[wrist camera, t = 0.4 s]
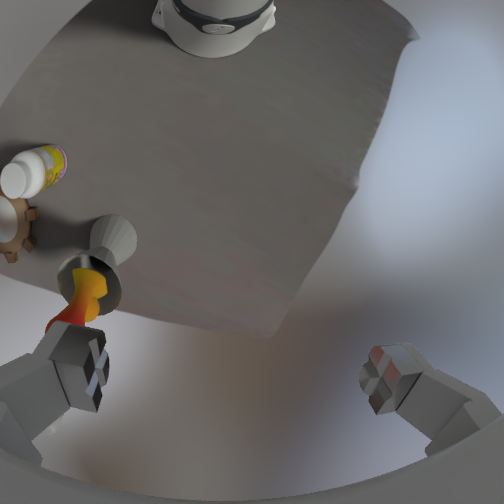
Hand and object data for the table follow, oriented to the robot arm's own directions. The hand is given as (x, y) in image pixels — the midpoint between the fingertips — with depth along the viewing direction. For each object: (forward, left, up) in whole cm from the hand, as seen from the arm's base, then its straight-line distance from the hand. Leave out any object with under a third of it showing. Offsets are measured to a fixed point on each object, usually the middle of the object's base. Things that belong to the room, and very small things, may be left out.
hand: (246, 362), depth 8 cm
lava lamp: (+12, -15, -39) cm, 44 cm away
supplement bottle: (-2, -25, -39) cm, 46 cm away
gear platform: (+6, -38, -39) cm, 54 cm away
